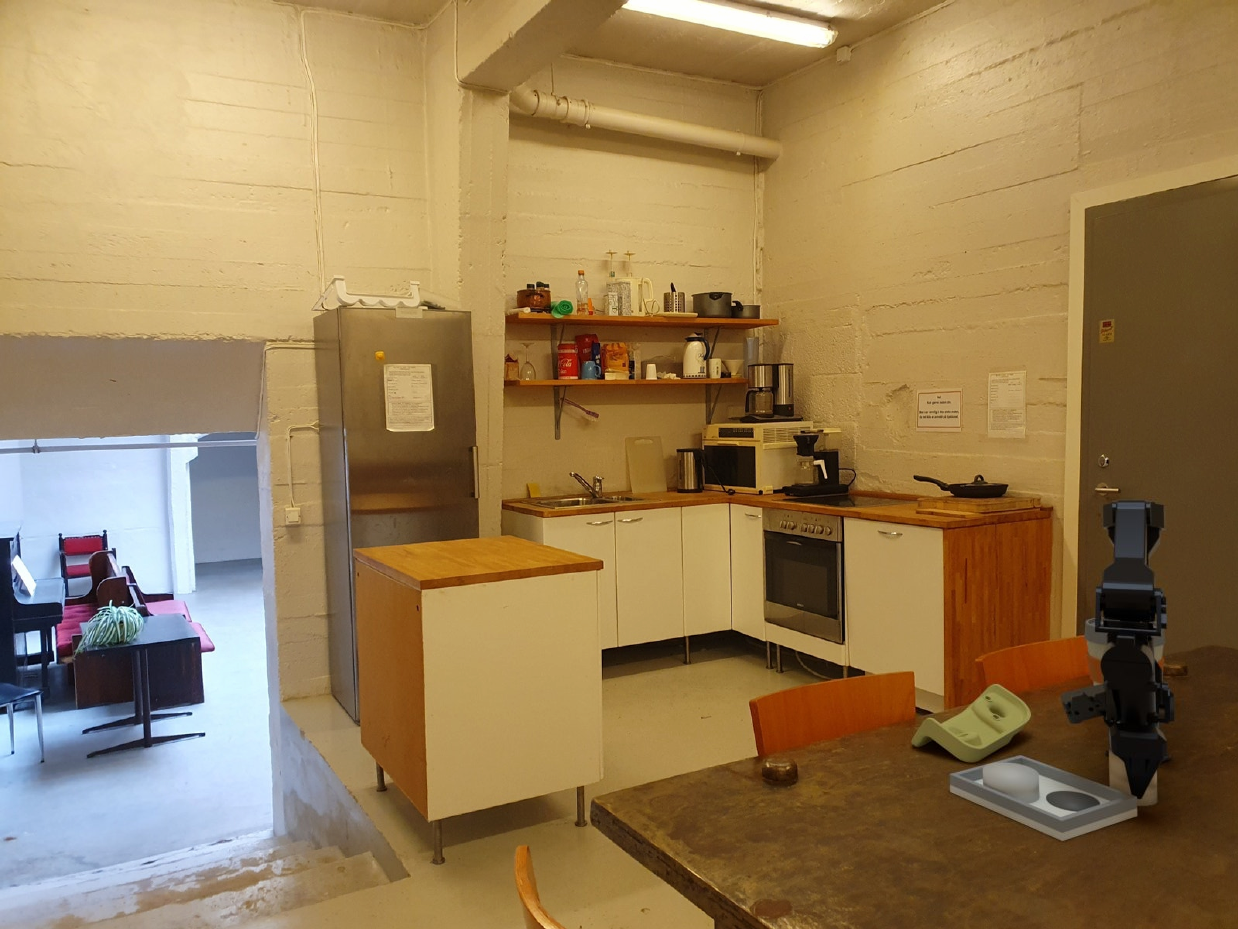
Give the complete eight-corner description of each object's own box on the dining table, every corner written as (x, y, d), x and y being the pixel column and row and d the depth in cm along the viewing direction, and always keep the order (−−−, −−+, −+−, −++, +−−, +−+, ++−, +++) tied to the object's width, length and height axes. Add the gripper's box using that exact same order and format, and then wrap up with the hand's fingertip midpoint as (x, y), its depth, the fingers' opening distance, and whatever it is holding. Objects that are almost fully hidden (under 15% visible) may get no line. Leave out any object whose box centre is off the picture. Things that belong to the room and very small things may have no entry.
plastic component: (975, 752, 136) (920, 711, 143) (959, 789, 139) (906, 747, 146) (1042, 713, 148) (988, 677, 155) (1025, 748, 151) (974, 711, 158)
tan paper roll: (1127, 786, 127) (1126, 741, 127) (1166, 800, 122) (1165, 753, 122) (1100, 795, 125) (1099, 748, 124) (1139, 809, 119) (1138, 761, 119)
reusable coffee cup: (1183, 718, 154) (1181, 630, 154) (1108, 721, 154) (1106, 633, 154) (1141, 696, 167) (1139, 615, 166) (1072, 699, 167) (1070, 618, 166)
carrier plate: (1021, 772, 134) (1020, 745, 134) (1137, 816, 117) (1136, 785, 117) (950, 791, 128) (949, 763, 127) (1062, 841, 111) (1061, 808, 111)
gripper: (1061, 651, 135) (1064, 756, 135) (1066, 685, 117) (1069, 804, 118) (1148, 656, 130) (1150, 764, 130) (1166, 691, 113) (1169, 816, 113)
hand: (1133, 785), depth 123 cm, fingers open, 9 cm apart
